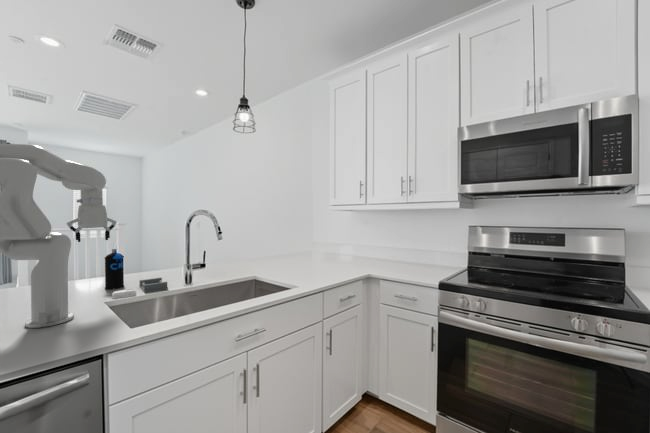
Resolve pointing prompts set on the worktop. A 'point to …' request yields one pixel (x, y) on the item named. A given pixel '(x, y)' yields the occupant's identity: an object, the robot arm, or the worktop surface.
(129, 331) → the worktop surface
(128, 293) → the white rectangular block
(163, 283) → the pin tray
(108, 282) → the aerosol can
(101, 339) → the worktop surface
